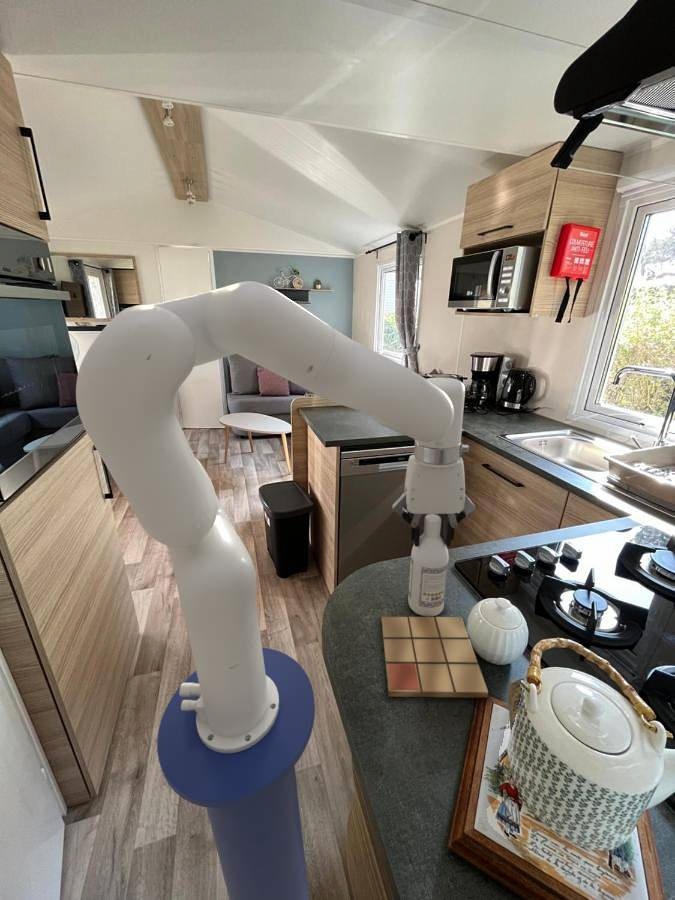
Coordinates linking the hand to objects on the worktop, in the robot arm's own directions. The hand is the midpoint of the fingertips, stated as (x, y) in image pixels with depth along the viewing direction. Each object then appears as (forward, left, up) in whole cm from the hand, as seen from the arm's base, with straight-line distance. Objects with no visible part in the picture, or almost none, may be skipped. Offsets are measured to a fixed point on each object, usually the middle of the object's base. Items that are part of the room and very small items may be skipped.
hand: (431, 541), depth 71 cm
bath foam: (0, 0, -15) cm, 15 cm away
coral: (+9, -27, -15) cm, 32 cm away
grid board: (-2, -12, -15) cm, 19 cm away
